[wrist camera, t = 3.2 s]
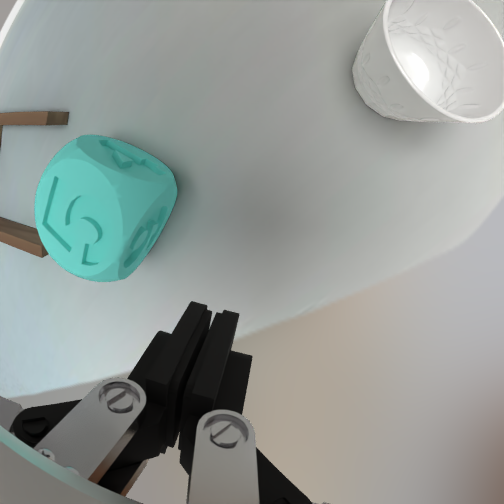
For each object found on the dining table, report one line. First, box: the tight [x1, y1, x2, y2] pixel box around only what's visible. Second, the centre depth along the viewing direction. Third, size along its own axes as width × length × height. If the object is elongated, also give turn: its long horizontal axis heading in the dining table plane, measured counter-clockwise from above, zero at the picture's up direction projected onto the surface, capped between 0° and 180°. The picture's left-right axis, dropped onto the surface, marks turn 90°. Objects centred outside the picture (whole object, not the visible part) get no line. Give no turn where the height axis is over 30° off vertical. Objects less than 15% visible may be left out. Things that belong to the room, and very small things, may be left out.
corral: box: [0, 111, 69, 258], centre depth 23 cm, size 13×12×3 cm
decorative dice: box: [34, 135, 177, 282], centre depth 20 cm, size 8×8×8 cm
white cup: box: [352, 0, 504, 123], centre depth 14 cm, size 8×8×10 cm
